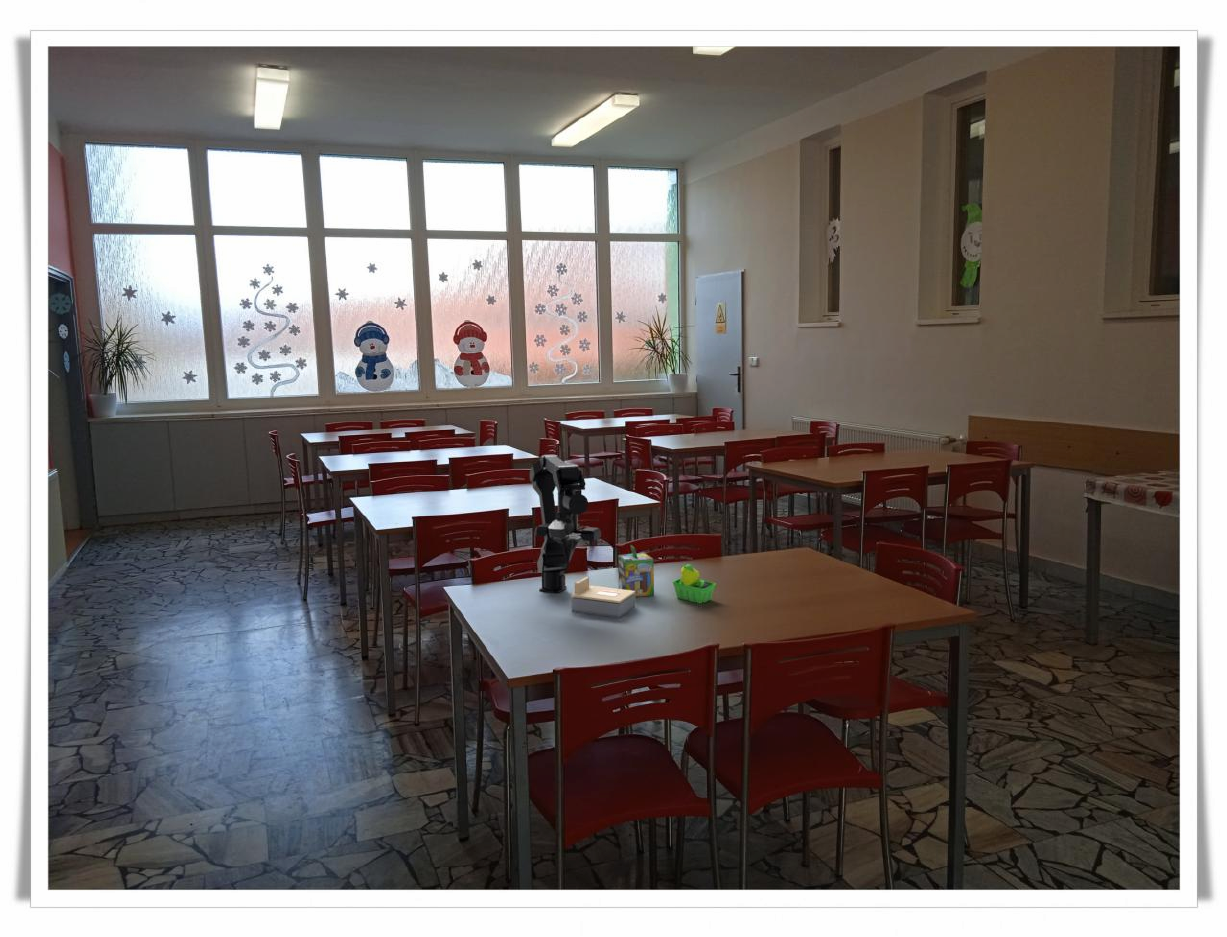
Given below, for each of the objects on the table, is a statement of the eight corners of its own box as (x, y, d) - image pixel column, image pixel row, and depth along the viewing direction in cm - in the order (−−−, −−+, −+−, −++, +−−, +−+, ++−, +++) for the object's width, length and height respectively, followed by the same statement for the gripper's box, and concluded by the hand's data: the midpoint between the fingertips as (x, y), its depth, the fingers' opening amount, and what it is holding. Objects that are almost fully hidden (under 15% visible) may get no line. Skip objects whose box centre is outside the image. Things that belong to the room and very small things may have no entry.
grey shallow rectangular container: (571, 611, 242) (571, 598, 241) (588, 601, 252) (588, 588, 251) (619, 618, 236) (619, 604, 235) (635, 607, 245) (635, 594, 245)
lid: (571, 597, 241) (571, 584, 241) (588, 587, 251) (588, 575, 250) (619, 603, 235) (619, 590, 234) (635, 593, 245) (635, 580, 244)
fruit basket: (716, 600, 253) (717, 563, 251) (698, 606, 246) (699, 568, 245) (686, 592, 260) (687, 556, 259) (668, 598, 254) (668, 562, 253)
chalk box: (654, 596, 257) (654, 548, 254) (625, 598, 254) (625, 550, 252) (646, 588, 265) (646, 541, 263) (617, 590, 263) (617, 543, 261)
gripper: (525, 510, 241) (526, 564, 243) (585, 515, 234) (586, 570, 236) (543, 504, 251) (544, 555, 253) (601, 508, 244) (601, 561, 246)
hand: (568, 561), depth 247 cm, fingers closed
